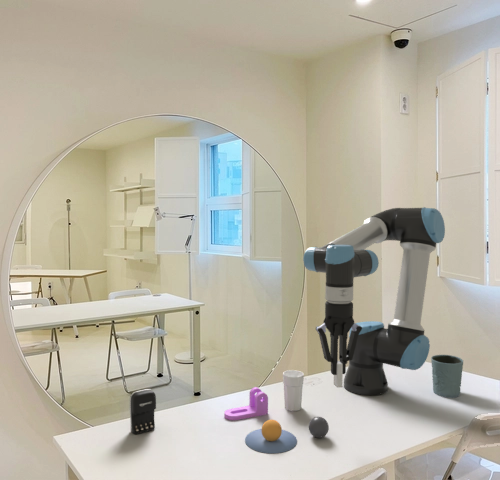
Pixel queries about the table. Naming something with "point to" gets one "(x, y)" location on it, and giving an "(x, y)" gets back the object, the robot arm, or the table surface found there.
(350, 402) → the table surface
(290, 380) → the cup
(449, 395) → the teal tapered pot
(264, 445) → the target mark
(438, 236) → the robot arm
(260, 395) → the bracket
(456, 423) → the table surface
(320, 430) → the gray ball
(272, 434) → the object ball
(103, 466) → the table surface
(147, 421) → the battery charger
